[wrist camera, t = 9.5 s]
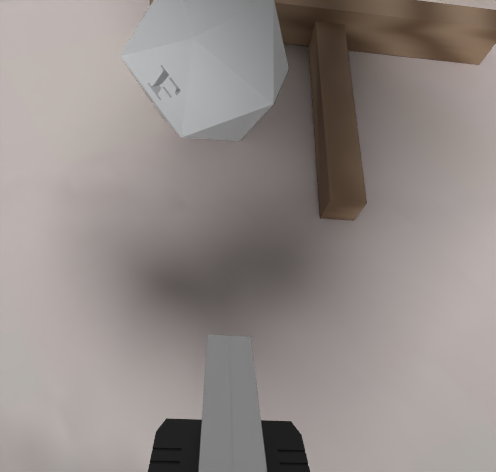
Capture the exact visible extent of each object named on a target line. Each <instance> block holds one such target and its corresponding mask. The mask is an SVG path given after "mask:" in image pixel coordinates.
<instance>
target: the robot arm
mask: <svg viewBox="0 0 496 472" xmlns="http://www.w3.org/2000/svg"><path fill="white" fill-rule="evenodd" d="M148 472H310V469H309V466H308V461H307V457H306V453H305V448H304V444H303V440H302V436H301V434H300V433H299V431H298V430H297V429H296V427H295V426H294V425H293V423H292V422H291V421H263V420H261V417H260V409H259V401H258V392H257V384H256V376H255V368H254V359H253V351H252V343H251V337H249V336H227V335H208V337H207V352H206V367H205V382H204V397H203V412H202V420H193V419H166V420H165V421H164V422H163V424H162V425H161V426H160V428H159V429H158V430H157V431H156V435H155V440H154V445H153V451H152V454H151V459H150V464H149V469H148Z"/></svg>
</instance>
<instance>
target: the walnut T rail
mask: <svg viewBox="0 0 496 472" xmlns="http://www.w3.org/2000/svg"><path fill="white" fill-rule="evenodd" d="M152 2H153V0H150V5H151V4H152ZM274 2H275V7H276V11H277V16H278V21H279V25H280V30H281V35H282V39H283V43H286V44H295V45H304V46H308V47H309V62H310V76H311V91H312V105H313V120H314V135H315V149H316V164H317V178H318V193H319V207H320V218H326V219H341V220H355V219H356V217H357V216H358V214H359V213H360V212H361V210H362V209H363V207H364V206H365V205H366V203H367V201H366V193H365V185H364V177H363V169H362V161H361V153H360V145H359V137H358V129H357V121H356V113H355V105H354V97H353V89H352V81H351V73H350V65H349V57H348V50H350V51H359V52H368V53H377V54H386V55H395V56H404V57H414V58H423V59H432V60H441V61H450V62H459V63H468V64H477V65H479V64H480V63H481V62H482V60H483V59H484V58H485V56H486V55H487V54H488V53H489V51H490V50H491V49H492V47H493V46H494V45H495V43H496V10H491V9H483V8H475V7H467V6H459V5H451V4H443V3H435V2H427V1H418V0H274Z"/></svg>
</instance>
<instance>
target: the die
mask: <svg viewBox="0 0 496 472" xmlns="http://www.w3.org/2000/svg"><path fill="white" fill-rule="evenodd" d="M120 57H121V58H122V60H123V61H124V63H125V64H126V66H127V67H128V69H129V70H130V71H131V73H132V74H133V76H134V77H135V79H136V80H137V82H138V83H139V84H140V86H141V87H142V89H143V90H144V92H145V93H146V95H147V96H148V97H149V99H150V100H151V102H152V103H153V105H154V106H155V108H156V109H157V110H158V112H159V113H160V115H161V116H162V117H163V119H164V120H165V121H166V122H167V123H168V124H169V125H170V126H171V127H172V128H173V130H174V131H175V132H176V133H177V134H178V135H179V136H180V137H181V138H195V139H213V140H230V141H240V140H241V139H242V138H243V137H244V136H245V135H246V134H247V133H248V132H249V131H250V129H251V128H252V127H253V126H254V125H255V124H256V123H257V122H258V121H259V120H260V119H261V117H262V116H263V115H264V114H265V113H266V112H267V111H268V110H269V109H270V108H271V106H272V105H273V104H274V102H275V100H276V98H277V95H278V93H279V91H280V88H281V86H282V84H283V82H284V79H285V77H286V75H287V72H288V70H289V68H288V63H287V58H286V54H285V49H284V44H283V39H282V35H281V30H280V25H279V21H278V16H277V11H276V7H275V2H274V0H153V2H152V4H151V5H150V7H149V9H148V10H147V12H146V14H145V15H144V17H143V19H142V20H141V22H140V24H139V25H138V27H137V29H136V30H135V32H134V34H133V36H132V37H131V39H130V41H129V42H128V44H127V46H126V47H125V49H124V51H123V52H122V54H121V56H120Z"/></svg>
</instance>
